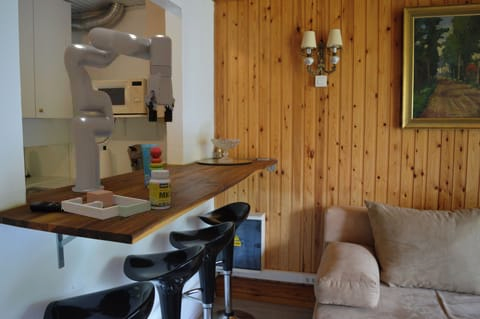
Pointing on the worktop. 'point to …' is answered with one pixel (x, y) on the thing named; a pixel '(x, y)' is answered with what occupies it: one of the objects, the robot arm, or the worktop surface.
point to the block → (100, 197)
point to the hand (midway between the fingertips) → (160, 121)
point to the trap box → (97, 211)
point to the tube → (147, 160)
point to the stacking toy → (155, 161)
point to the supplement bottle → (160, 189)
